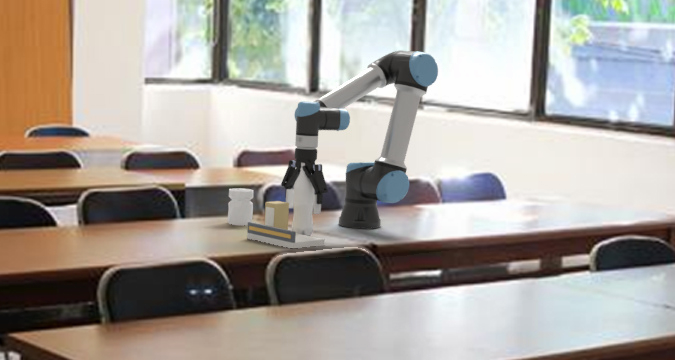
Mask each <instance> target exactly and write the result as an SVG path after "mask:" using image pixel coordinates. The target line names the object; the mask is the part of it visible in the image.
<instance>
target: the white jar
mask: <svg viewBox="0 0 675 360" xmlns="http://www.w3.org/2000/svg"><path fill="white" fill-rule="evenodd" d="M254 191H255V190H254V189H250V188H241V187H240V188H236V187H235V188H229V189H228V198H230V201H229V202H228V206H227V207H228V212H227V224H228V223H229V224H228V225H231V224H232V226H240V227H241V226H244V225H245V226H246V227H247V226H248V222H253V215H254V214H253V212H254V203H253V202H252V201H251V200H252V199H254V194H255V193H254ZM245 226H244V227H245Z"/></svg>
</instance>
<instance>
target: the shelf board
mask: <svg viewBox="0 0 675 360" xmlns="http://www.w3.org/2000/svg"><path fill="white" fill-rule="evenodd" d="M246 230H247V235H246V239H248V240H251V239H252V240H251V241H255V240H258V241H257V242H259V241H261V243H264V242H266V243H265V244H268V243H270V245H273V244H274V246H277V245H278V246H277V247H281V246H283V248H286V247H288V248H287V249H290V248H298V249H303V248H302V247H307V248H311V247H310V246H316V247H322V246H325V239H324V238H320V237H315V236H311V235H310V236H306V235H302V234H297V233H296V232H295V231H292V230H289V229H288V230H285V229H281V228H276V227H271V226H267V225H264V224H262V223H256V222H253V221H252V222H248V225H247V229H246Z"/></svg>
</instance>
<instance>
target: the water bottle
mask: <svg viewBox="0 0 675 360" xmlns="http://www.w3.org/2000/svg"><path fill="white" fill-rule="evenodd" d="M303 166H305V163H301V168H300V170H301V171H300V174H299V176H298V178H297V179H296V181H295V184H294V186H293V189H294V195H293V208H292V209H293V219H292V221H291V222H292V223H291V231H295V232H296V233H297V234H302V235H306V236H311V235H313V234H312V233H313V231H314V223H313V221H314V220H313V207H314V194H315V190H314V188H313V186H312V184H311V182H310V179H309V178H308V177H307V176H306V175H305V172H304V171H303V168H302V167H303Z"/></svg>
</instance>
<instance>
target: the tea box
mask: <svg viewBox="0 0 675 360" xmlns="http://www.w3.org/2000/svg"><path fill="white" fill-rule="evenodd" d="M289 210H290V208H289V203H286V201H281V200H274V201H265V205H264V224H263V225H267V226H271V227H276V228H281V229H285V230H289V213H290V211H289Z"/></svg>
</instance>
